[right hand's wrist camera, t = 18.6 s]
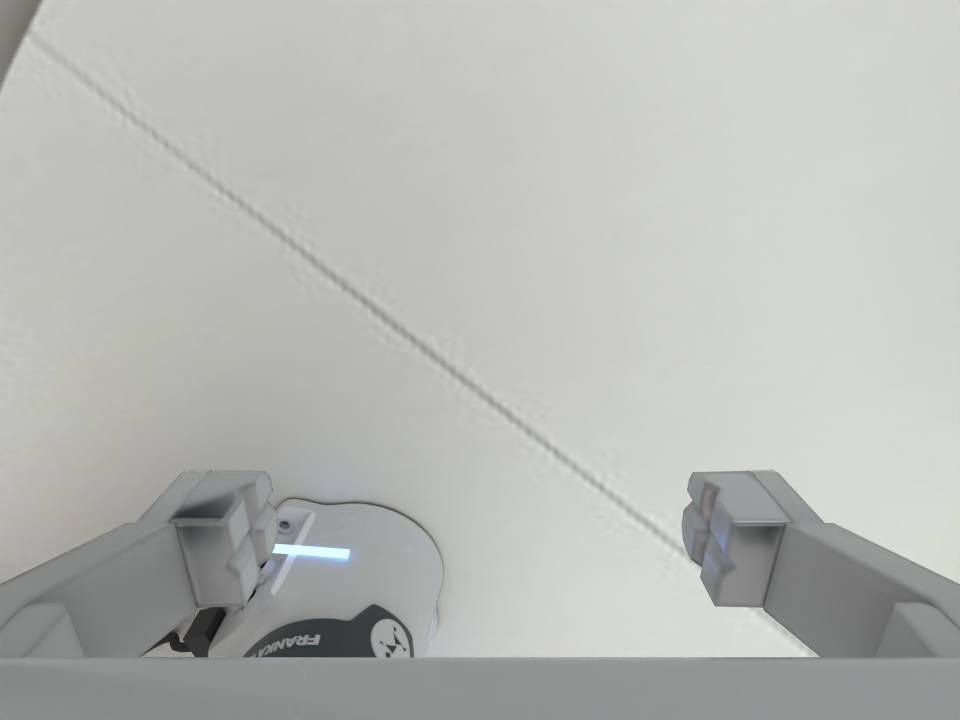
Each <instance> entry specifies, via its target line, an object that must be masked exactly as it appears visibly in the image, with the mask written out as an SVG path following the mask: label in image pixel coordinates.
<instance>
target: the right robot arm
mask: <svg viewBox="0 0 960 720" xmlns="http://www.w3.org/2000/svg"><path fill="white" fill-rule="evenodd" d="M272 491H273V488H272V484H271V479H270V476H269V475H268V474H267V473H266V472H265V471H221V470H215V471H212V470H189V471H185V472H182V473H181V474H180V475H179V476H178V477H177V478H176V480H175V481H174V482H173V483H172V484H171V485H170V486H169V487H168V488H167V489H166V490H165V491H164V493H163V494H162V495H161V496H160V497H159V498H158V499H157V500H156V501H155V502H154V503H153V504H152V506H151V507H150V508H149V509H148V510H147V511H146V512H145V513H144V514H143V515H142V516H141V518H140V519H139V520H138V521H137V522H136V523H126V524H124V525H122V526H120V527H118V528H116V529H114V530H112V531H110V532H107V533H105V534H103V535H101V536H99V537H97V538H95V539H93V540H91V541H89V542H87V543H85V544H83V545H81V546H78V547H76V548H74V549H72V550H70V551H68V552H66V553H64V554H62V555H60V556H58V557H56V558H54V559H52V560H49V561H47V562H45V563H43V564H41V565H39V566H37V567H35V568H33V569H31V570H29V571H27V572H25V573H23V574H21V575H18V576H16V577H14V578H12V579H10V580H8V581H6V582H4V583H2V584H0V720H960V584H958V583H956V582H954V581H952V580H950V579H947V578H945V577H943V576H941V575H939V574H937V573H935V572H933V571H931V570H929V569H927V568H925V567H923V566H921V565H919V564H916V563H914V562H912V561H910V560H908V559H906V558H904V557H902V556H900V555H898V554H896V553H894V552H892V551H890V550H888V549H886V548H883V547H881V546H879V545H877V544H875V543H873V542H871V541H869V540H867V539H865V538H863V537H861V536H859V535H857V534H855V533H853V532H850V531H848V530H846V529H844V528H842V527H840V526H838V525H836V524H834V523H824V522H823V521H822V520H821V519H820V517H819V516H818V515H817V514H816V513H815V512H814V511H813V510H812V509H811V508H810V507H809V506H808V504H807V503H806V502H805V501H804V500H803V499H802V498H801V497H800V496H799V495H798V494H797V493H796V491H795V490H794V489H793V488H792V487H791V486H790V485H789V484H788V483H787V482H786V481H785V479H784V478H783V477H782V476H781V475H780V474H779V473H778V472H775V471H773V470H753V471H728V472H693V473H692V475H691V477H690V479H689V483H688V488H687V491H688V493H689V495H690V496H691V498H692V500H693V501H692V502H691V503H690V504H689V505H688V506H687V507H686V508H685V509H684V511H683V519H682V534H683V541H684V544H685V548H686V550H687V553H688V555H689V557H690V559H691V560H692V561H694V562H695V563H697V564H698V565H699V566H701V567H702V570H701V576H700V578H701V580H702V582H703V584H704V586H705V588H706V590H707V592H708V594H709V596H710V598H711V600H712V602H713V603H714V605H715V606H724V607H760V608H764V609H763V610H764V611H765V612H767V613H768V614H769V615H770V616H771V617H773V618H774V619H775V620H776V621H777V622H779V623H780V624H781V625H782V626H783V627H785V628H786V629H787V630H788V631H790V632H791V633H792V634H793V635H794V636H796V637H797V638H798V639H799V640H800V641H802V642H803V643H804V644H805V645H807V646H808V647H809V648H810V649H811V650H813V651H814V652H815V653H816V654H817V655H819V656H820V657H472V658H425V655H426V650H427V646H428V641H429V639H431V638H432V637H434V636H435V634H436V631H437V627H438V613H437V608H436V602H437V598H438V595H439V592H440V589H441V586H442V582H443V563H442V559H441V556H440V553H439V551H438V549H437V547H436V545H435V543H434V542H433V540H432V539H431V538H430V536H429V535H428V534H427V533H426V532H425V531H424V530H423V529H422V528H421V527H420V526H418V525H417V524H416V523H415V522H413V521H412V520H410V519H409V518H407V517H405V516H403V515H401V514H399V513H397V512H395V511H392V510H389V509H386V508H383V507H379V506H375V505H369V504H356V503H352V504H337V505H321V504H318V503H314V502H310V501H306V500H300V499H288V500H286V501H284V502H283V503H282V504H281V505H280V506H279V507H278V508H277V510H276V509H275V508H274V507H273V506H272V505H271V504H270V503H269V502H268V501H267V500H268V498H269V496H270V495H271V493H272ZM283 521H286V522H288V523H289V524H286V523H284V522H283ZM200 607H202V609H203V610H200V612H199V613H198V615H197V616H196V618H195V620H194V621H193V623H192V625H191V626H190V628H189V630H188V631H187V633H186V635H185V636H184V638H183V641H184V642H180V640H179V636H178V634H176V633H169V632H171V631H172V630H173V629H174V628H176V627H177V626H178V625H179V624H180V623H182V622H183V621H184V620H185V619H186V618H188V617H189V616H190V615H191V614H193V613H194V612H195V611H196V610H197V609H196V608H200ZM167 642H170V646H171V649H172V650H174V651H178V652H192V653H193V654H194V656H195V657H141V656H142V655H144V654H145V653H147V652H148V651H150V650H152V649H153V648H155V647H157V646H159V645H161V644H163V643H167Z"/></svg>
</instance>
